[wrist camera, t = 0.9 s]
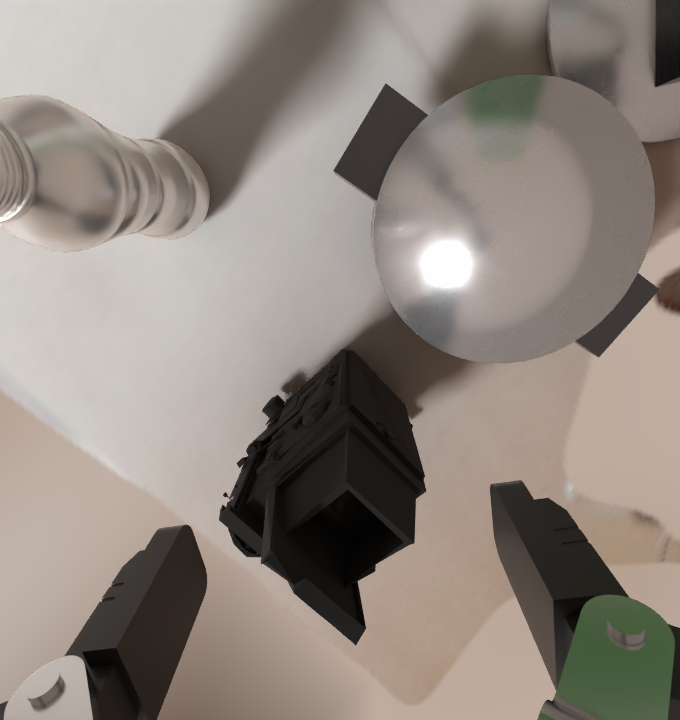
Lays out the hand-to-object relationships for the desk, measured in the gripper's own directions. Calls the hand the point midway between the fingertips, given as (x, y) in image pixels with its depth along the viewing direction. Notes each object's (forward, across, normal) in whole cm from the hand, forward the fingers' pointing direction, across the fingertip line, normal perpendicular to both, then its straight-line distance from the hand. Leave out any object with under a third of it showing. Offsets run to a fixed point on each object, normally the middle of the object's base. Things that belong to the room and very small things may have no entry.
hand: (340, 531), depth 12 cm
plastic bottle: (+26, +11, -12) cm, 31 cm away
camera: (+26, +4, +9) cm, 28 cm away
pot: (+26, -10, -5) cm, 28 cm away
